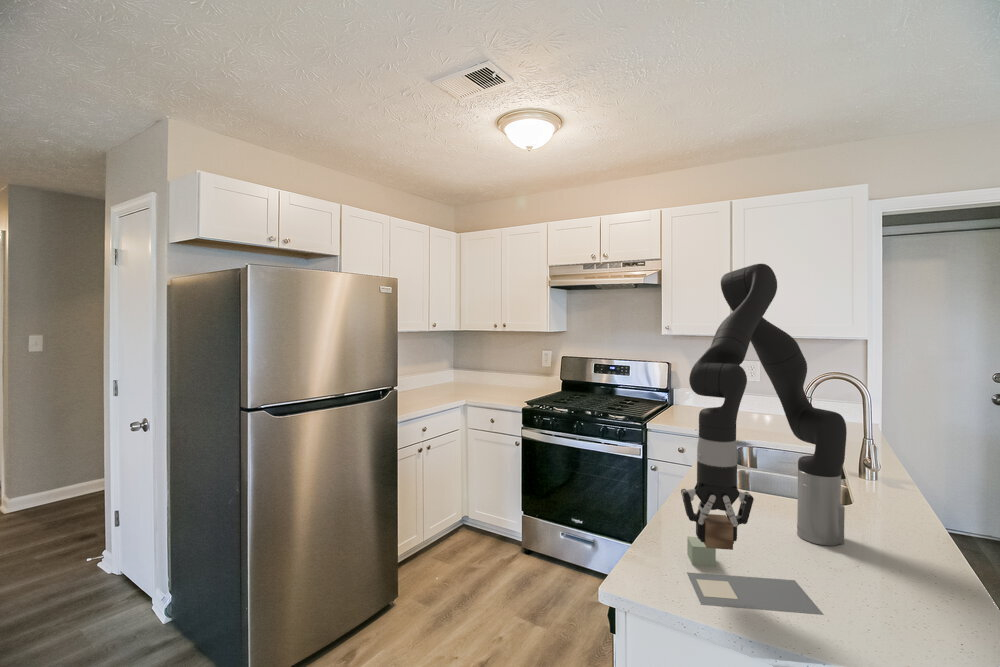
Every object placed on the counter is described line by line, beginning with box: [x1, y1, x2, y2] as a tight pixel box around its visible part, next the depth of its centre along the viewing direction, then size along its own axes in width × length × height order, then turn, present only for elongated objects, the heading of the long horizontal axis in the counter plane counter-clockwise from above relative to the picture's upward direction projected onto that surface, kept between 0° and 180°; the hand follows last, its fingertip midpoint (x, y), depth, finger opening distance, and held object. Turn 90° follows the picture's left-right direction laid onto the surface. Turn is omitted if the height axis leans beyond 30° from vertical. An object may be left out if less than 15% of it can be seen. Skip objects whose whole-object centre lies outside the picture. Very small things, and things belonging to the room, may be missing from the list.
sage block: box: [686, 536, 717, 568], centre depth 110 cm, size 5×5×5 cm
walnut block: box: [704, 513, 734, 551], centre depth 98 cm, size 5×5×5 cm
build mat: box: [686, 571, 825, 615], centre depth 98 cm, size 22×12×1 cm, turn 81°
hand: (715, 541), depth 98 cm, fingers closed on walnut block, 5 cm apart
